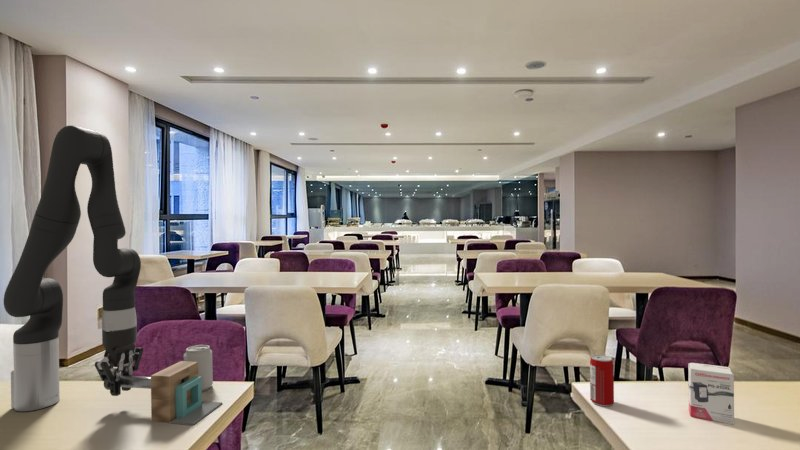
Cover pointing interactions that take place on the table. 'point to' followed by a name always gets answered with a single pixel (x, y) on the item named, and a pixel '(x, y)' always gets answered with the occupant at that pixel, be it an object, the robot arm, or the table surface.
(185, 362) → the bearing block
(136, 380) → the shaft
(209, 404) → the mat
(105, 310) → the robot arm
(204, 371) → the can
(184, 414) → the spacer
